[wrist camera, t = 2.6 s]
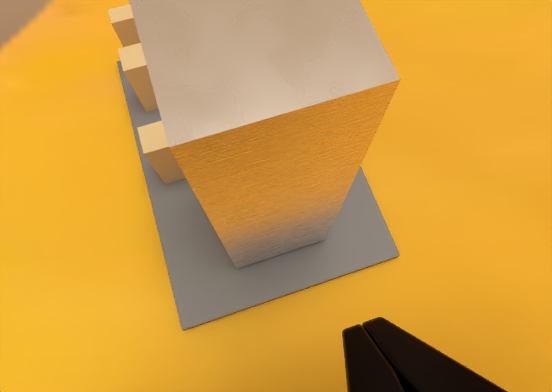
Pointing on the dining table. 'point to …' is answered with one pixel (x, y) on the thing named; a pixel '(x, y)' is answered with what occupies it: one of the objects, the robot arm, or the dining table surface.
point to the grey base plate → (201, 234)
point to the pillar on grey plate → (266, 110)
